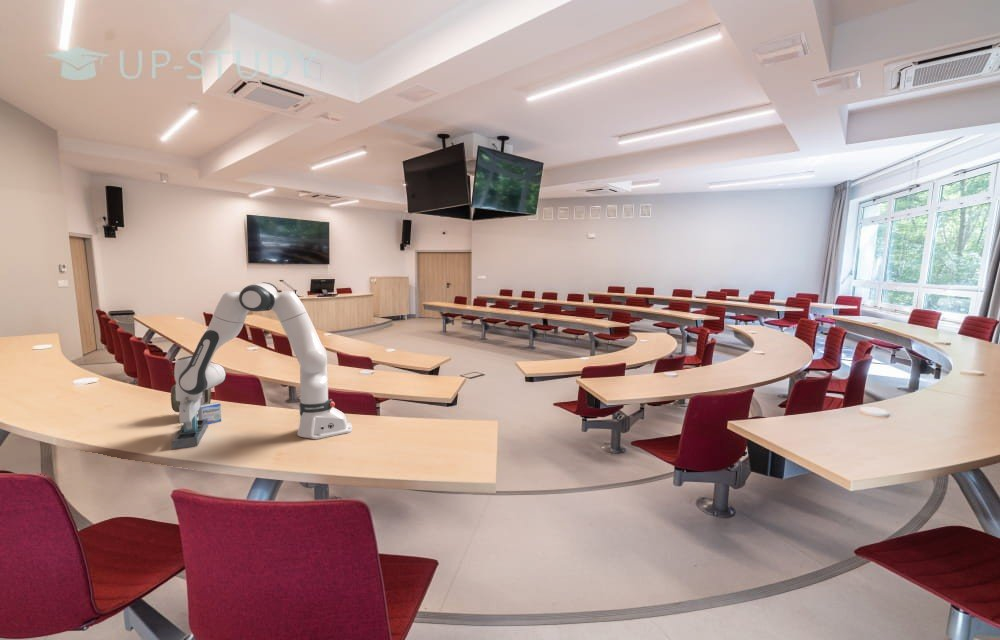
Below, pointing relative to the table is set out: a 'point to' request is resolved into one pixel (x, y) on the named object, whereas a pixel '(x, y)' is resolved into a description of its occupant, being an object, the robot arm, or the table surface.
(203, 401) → the tabletop clock
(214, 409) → the medicine box
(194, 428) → the clip
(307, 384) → the robot arm
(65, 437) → the table surface
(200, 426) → the grey rectangular piece
